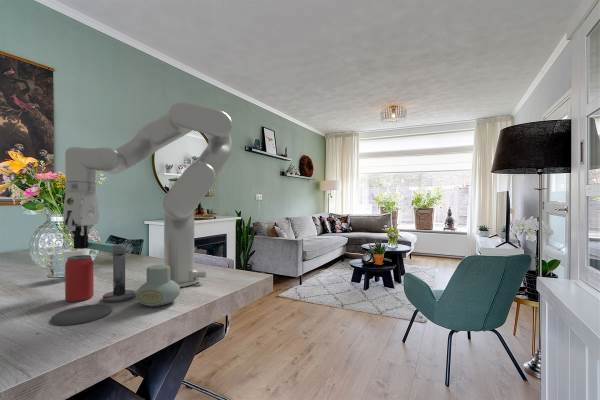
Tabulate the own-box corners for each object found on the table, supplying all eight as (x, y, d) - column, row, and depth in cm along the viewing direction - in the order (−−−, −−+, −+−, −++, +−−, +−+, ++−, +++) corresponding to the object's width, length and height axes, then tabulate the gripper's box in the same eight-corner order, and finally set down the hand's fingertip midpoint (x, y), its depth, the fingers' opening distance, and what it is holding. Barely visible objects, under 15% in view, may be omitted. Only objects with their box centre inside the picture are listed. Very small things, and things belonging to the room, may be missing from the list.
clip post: (140, 293, 92) (140, 251, 92) (126, 302, 84) (126, 256, 84) (112, 293, 92) (112, 251, 92) (96, 302, 84) (96, 257, 84)
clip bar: (127, 253, 88) (127, 244, 88) (116, 254, 86) (116, 246, 86) (90, 247, 100) (90, 239, 100) (79, 248, 97) (79, 240, 97)
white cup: (94, 275, 114) (94, 248, 114) (73, 280, 106) (72, 252, 106) (79, 273, 116) (79, 247, 116) (57, 279, 109) (57, 250, 109)
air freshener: (130, 308, 80) (130, 269, 80) (148, 297, 88) (147, 263, 88) (170, 309, 79) (170, 270, 79) (184, 298, 88) (184, 263, 87)
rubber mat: (120, 306, 81) (120, 303, 81) (92, 324, 69) (92, 322, 69) (73, 307, 81) (73, 304, 81) (37, 326, 69) (37, 323, 69)
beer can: (99, 295, 90) (98, 254, 90) (80, 303, 84) (80, 259, 84) (78, 294, 91) (78, 254, 91) (58, 302, 84) (58, 258, 84)
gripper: (77, 187, 86) (77, 252, 86) (107, 189, 101) (107, 244, 101) (49, 187, 86) (49, 252, 86) (83, 189, 101) (83, 244, 101)
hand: (81, 248), depth 94 cm, fingers closed
